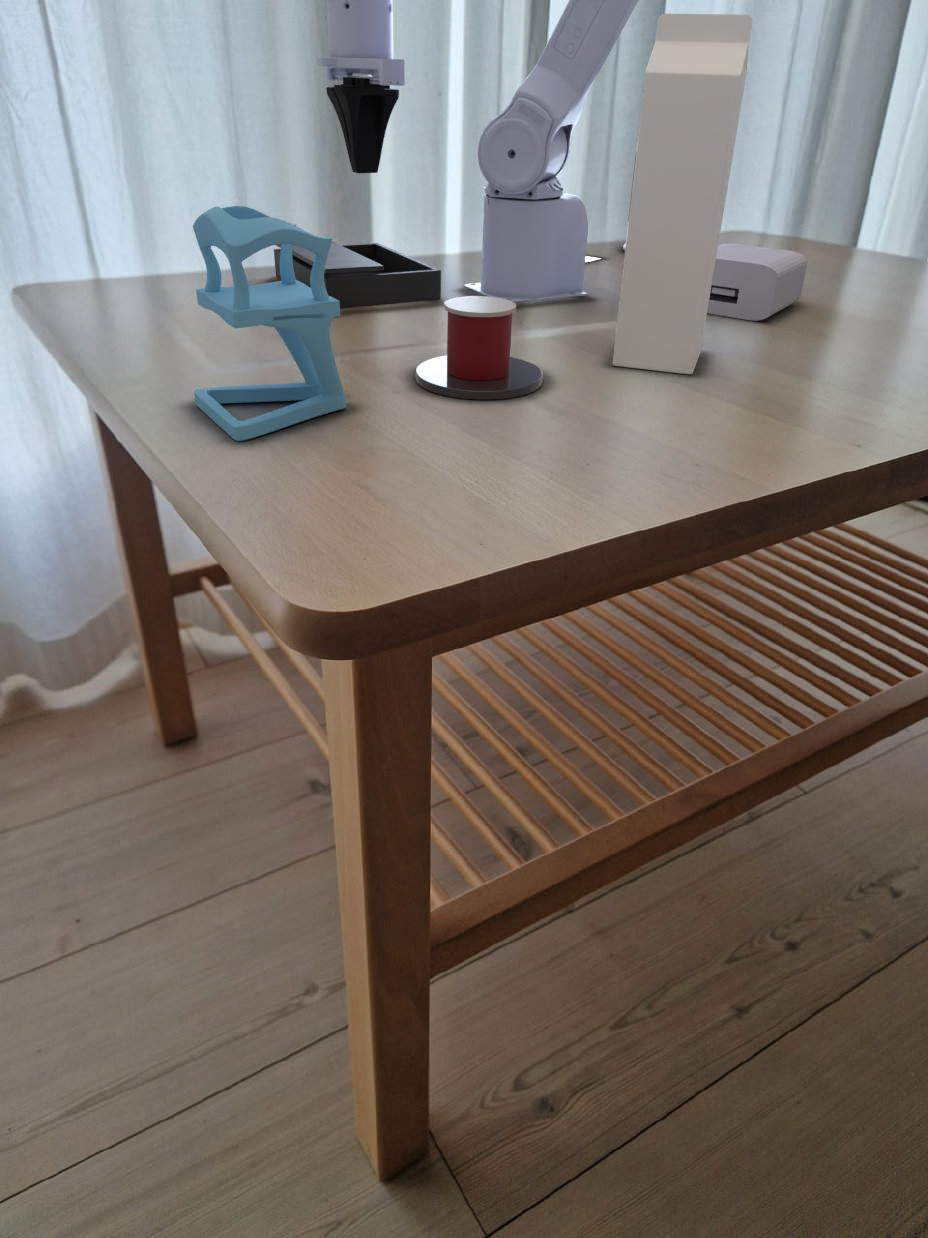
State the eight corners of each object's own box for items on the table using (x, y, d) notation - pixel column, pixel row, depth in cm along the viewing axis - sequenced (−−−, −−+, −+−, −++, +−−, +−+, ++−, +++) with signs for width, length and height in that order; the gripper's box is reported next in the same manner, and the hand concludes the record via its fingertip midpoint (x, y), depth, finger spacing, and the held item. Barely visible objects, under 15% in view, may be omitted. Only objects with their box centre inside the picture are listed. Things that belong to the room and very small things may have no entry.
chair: (364, 419, 56) (356, 209, 49) (235, 442, 52) (209, 218, 45) (313, 385, 61) (300, 192, 55) (193, 403, 57) (165, 199, 51)
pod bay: (327, 314, 78) (325, 278, 76) (276, 280, 89) (273, 248, 87) (440, 304, 82) (441, 270, 81) (378, 273, 93) (377, 242, 92)
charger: (817, 294, 90) (767, 323, 79) (729, 281, 94) (671, 307, 83) (828, 244, 87) (779, 266, 77) (737, 233, 91) (678, 253, 81)
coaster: (503, 355, 68) (503, 348, 68) (566, 390, 62) (567, 381, 61) (395, 369, 65) (395, 360, 64) (450, 406, 58) (450, 397, 58)
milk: (624, 346, 72) (663, 15, 60) (701, 354, 70) (756, 16, 58) (611, 366, 67) (650, 10, 55) (693, 375, 65) (751, 11, 53)
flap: (326, 273, 76) (325, 268, 76) (274, 244, 87) (273, 240, 87) (384, 270, 78) (383, 265, 78) (325, 242, 89) (325, 237, 89)
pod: (491, 358, 66) (494, 293, 63) (525, 377, 62) (529, 308, 59) (431, 365, 64) (431, 299, 61) (463, 385, 60) (464, 315, 57)
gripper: (288, -2, 81) (300, 165, 88) (346, -9, 70) (353, 182, 77) (361, 2, 84) (366, 163, 91) (427, -4, 73) (426, 179, 80)
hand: (365, 172), depth 84 cm, fingers closed
